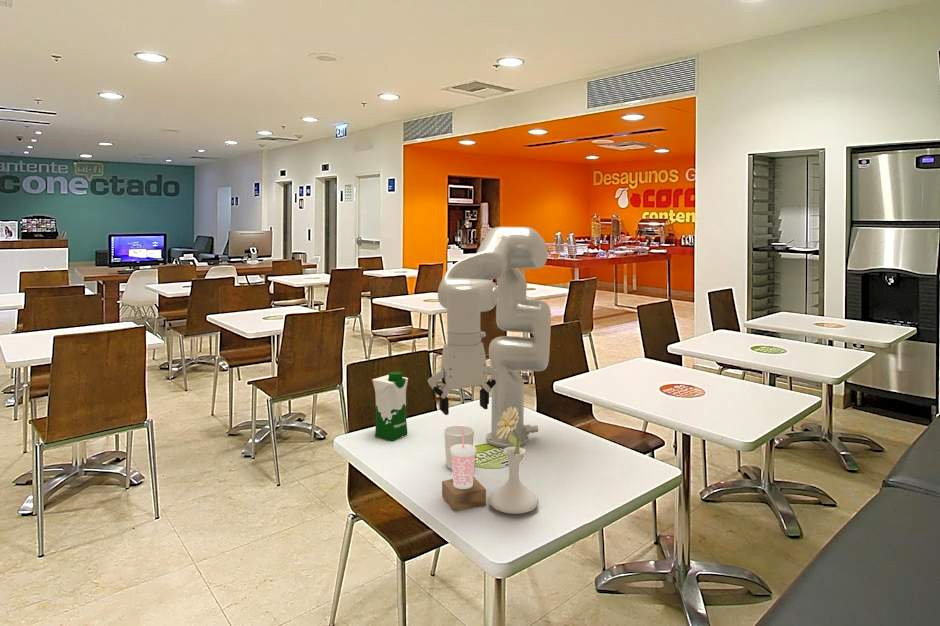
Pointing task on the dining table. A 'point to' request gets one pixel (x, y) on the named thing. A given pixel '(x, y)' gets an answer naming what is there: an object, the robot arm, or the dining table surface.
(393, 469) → the dining table surface
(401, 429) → the milk carton
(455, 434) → the white cup
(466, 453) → the beverage cup
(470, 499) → the riser
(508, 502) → the flower in vase
